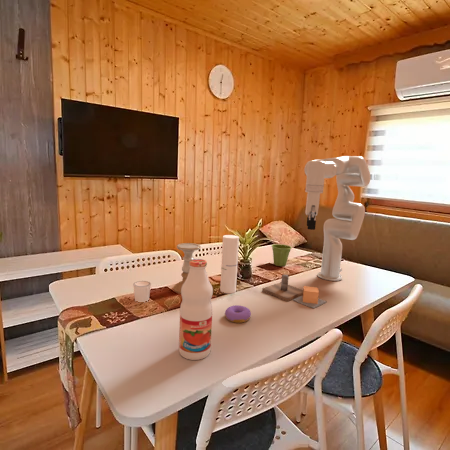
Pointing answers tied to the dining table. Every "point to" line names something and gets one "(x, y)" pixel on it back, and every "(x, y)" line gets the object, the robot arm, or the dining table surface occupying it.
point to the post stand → (283, 290)
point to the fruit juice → (196, 313)
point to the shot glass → (142, 291)
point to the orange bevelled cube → (310, 294)
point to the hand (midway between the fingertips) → (310, 227)
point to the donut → (237, 314)
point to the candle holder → (186, 262)
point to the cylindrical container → (229, 263)
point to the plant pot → (280, 254)
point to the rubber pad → (312, 305)
